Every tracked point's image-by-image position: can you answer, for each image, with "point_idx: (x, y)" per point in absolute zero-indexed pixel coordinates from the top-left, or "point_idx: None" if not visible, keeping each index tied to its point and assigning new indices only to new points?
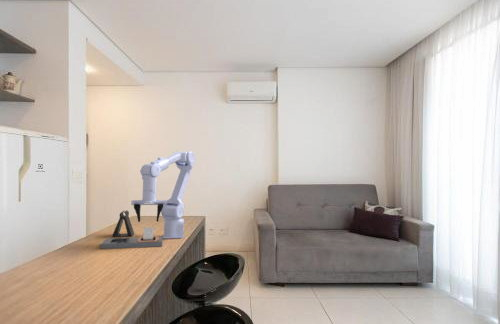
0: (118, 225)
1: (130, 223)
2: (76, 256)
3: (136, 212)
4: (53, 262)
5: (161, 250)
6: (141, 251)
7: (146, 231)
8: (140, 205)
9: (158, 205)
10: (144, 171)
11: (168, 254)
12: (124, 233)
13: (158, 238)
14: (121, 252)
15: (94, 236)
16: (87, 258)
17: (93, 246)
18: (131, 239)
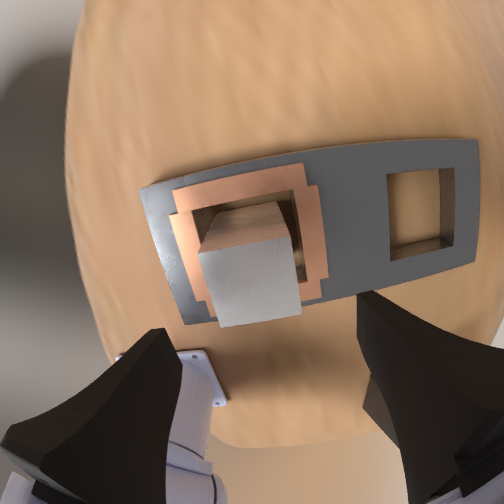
0: None
1: (391, 434)
2: (481, 45)
3: (460, 341)
4: (490, 6)
5: (130, 97)
6: (241, 62)
7: (259, 233)
8: (417, 499)
9: (81, 500)
10: None
11: (88, 42)
12: None
13: (185, 262)
14: (350, 50)
15: None
16: (437, 3)
17: (489, 193)
18: (364, 244)
